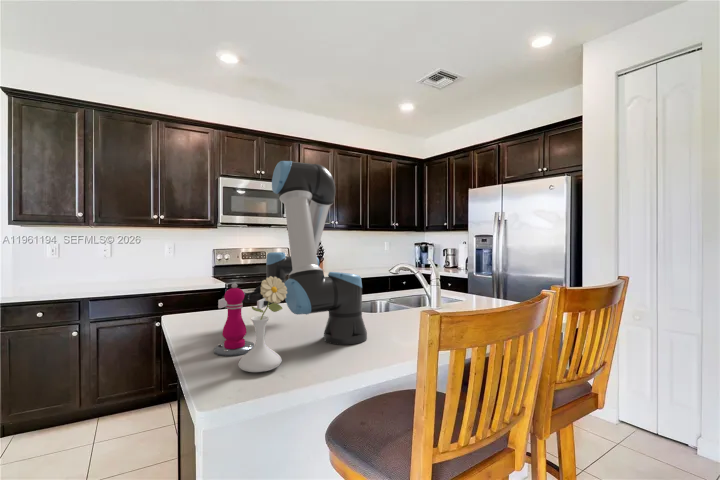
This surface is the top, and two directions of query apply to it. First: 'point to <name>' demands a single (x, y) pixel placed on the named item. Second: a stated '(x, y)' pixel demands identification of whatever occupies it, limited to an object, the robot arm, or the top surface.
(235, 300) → the pepper mill
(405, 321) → the top surface
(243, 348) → the flange plate
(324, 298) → the robot arm
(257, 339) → the flower in vase
